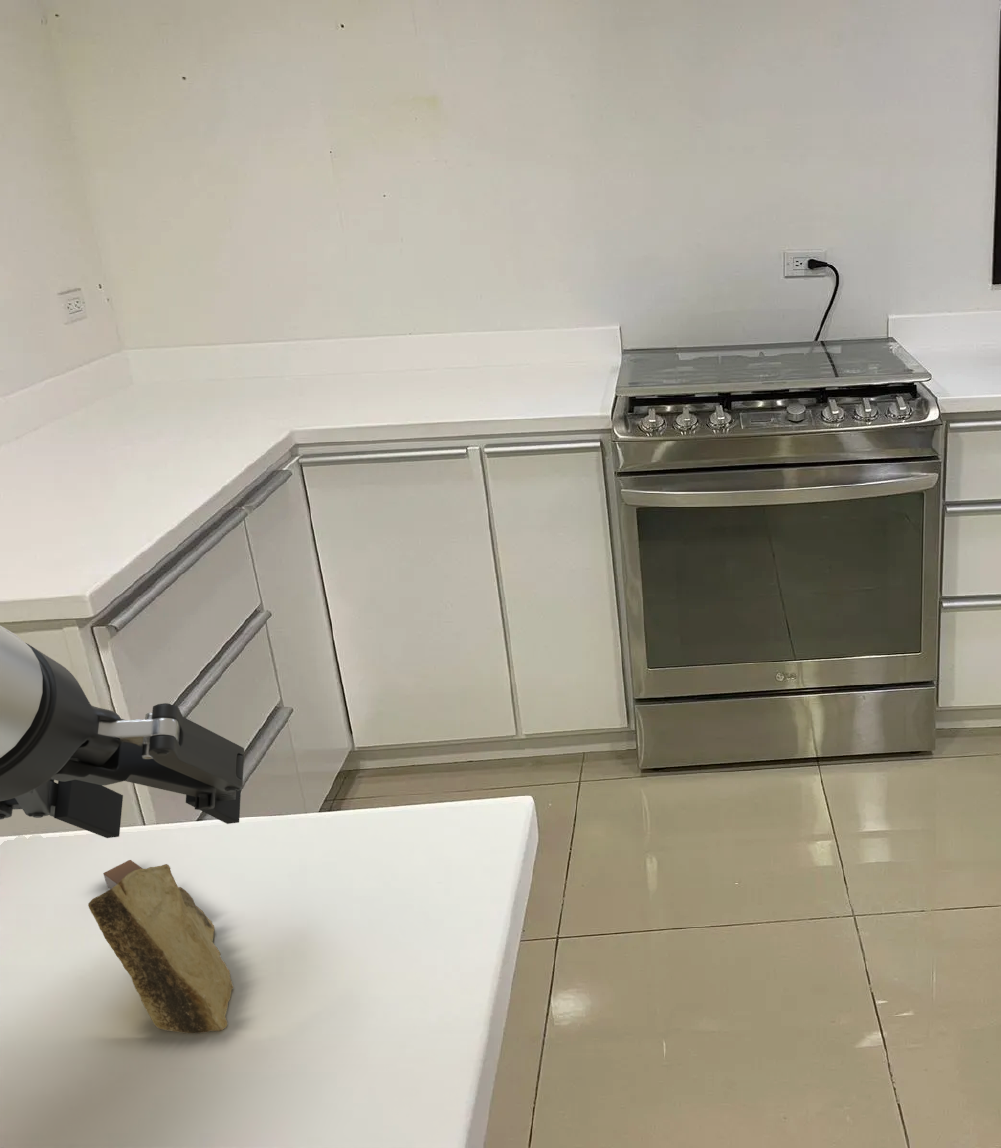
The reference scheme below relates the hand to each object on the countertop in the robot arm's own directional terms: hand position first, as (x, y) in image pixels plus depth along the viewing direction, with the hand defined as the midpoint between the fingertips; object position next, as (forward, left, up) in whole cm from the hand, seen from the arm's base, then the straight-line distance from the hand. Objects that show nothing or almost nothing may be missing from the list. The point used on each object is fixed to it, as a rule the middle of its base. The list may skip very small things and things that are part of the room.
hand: (174, 809), depth 73 cm
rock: (+3, -3, -11) cm, 11 cm away
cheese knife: (-8, 0, -10) cm, 13 cm away
